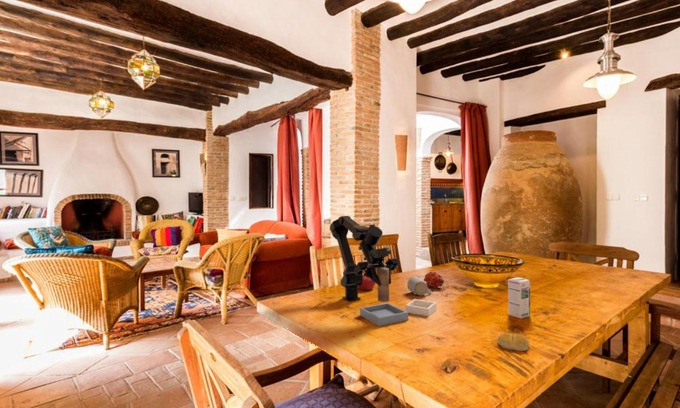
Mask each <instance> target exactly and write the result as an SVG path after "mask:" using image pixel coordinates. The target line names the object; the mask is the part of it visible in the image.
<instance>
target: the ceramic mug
mask: <svg viewBox="0 0 680 408" xmlns="http://www.w3.org/2000/svg"><path fill="white" fill-rule="evenodd" d="M406 286H407V289H408V290H409V291H410V292H411V293H413V294H414V295H416V296H419V297H420V296H422V297H423V296H425V295H426V294H431V293H432V290H431V289H429V288H428V287H429V286H427V284H426V281H424V279H423V280H422V278H419V277H418V276H412V277H410V278H409V279H408V281H407V285H406Z"/></svg>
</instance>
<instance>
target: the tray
mask: <svg viewBox="0 0 680 408" xmlns="http://www.w3.org/2000/svg"><path fill="white" fill-rule="evenodd" d="M359 316H361V317H362V318H364V319H366V320H368V321H369V322H371V323H372V324H374V325H375V326H377V327H380V326H381V327H383V326H385V325H387V326H388V325H391V324H394V323H400V322H405V321H409V313H408V312H407V311H406V310H404V309H403V308H400V307H398V306H396V305H394V304H391V303H390V302H383V303H380V304H379V303H378V304H375V305H369V306H363V307H360V308H359Z"/></svg>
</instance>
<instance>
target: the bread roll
mask: <svg viewBox="0 0 680 408" xmlns="http://www.w3.org/2000/svg"><path fill="white" fill-rule="evenodd" d="M497 343H498V345H499V346H501V347H502V348H504V349H506V350H514V351H515V350H516V352H524V351H528V349H529V345H530V341H529V339H527V338H526V336H525V335H523V334H520V333H515V334H513V333H511V332H502V333H501V334H500V335H498V337H497Z"/></svg>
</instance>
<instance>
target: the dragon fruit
mask: <svg viewBox="0 0 680 408" xmlns="http://www.w3.org/2000/svg"><path fill="white" fill-rule="evenodd" d="M423 281H424V282H425V283H426V284H427V287H432V288H433V289H438V288H439V287H442V286H443V285H444V284H445V280H444V278H443V277H442V276H441V275H440V274H438V272H436V271H428V273H426V274H425V275H424V278H423Z"/></svg>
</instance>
